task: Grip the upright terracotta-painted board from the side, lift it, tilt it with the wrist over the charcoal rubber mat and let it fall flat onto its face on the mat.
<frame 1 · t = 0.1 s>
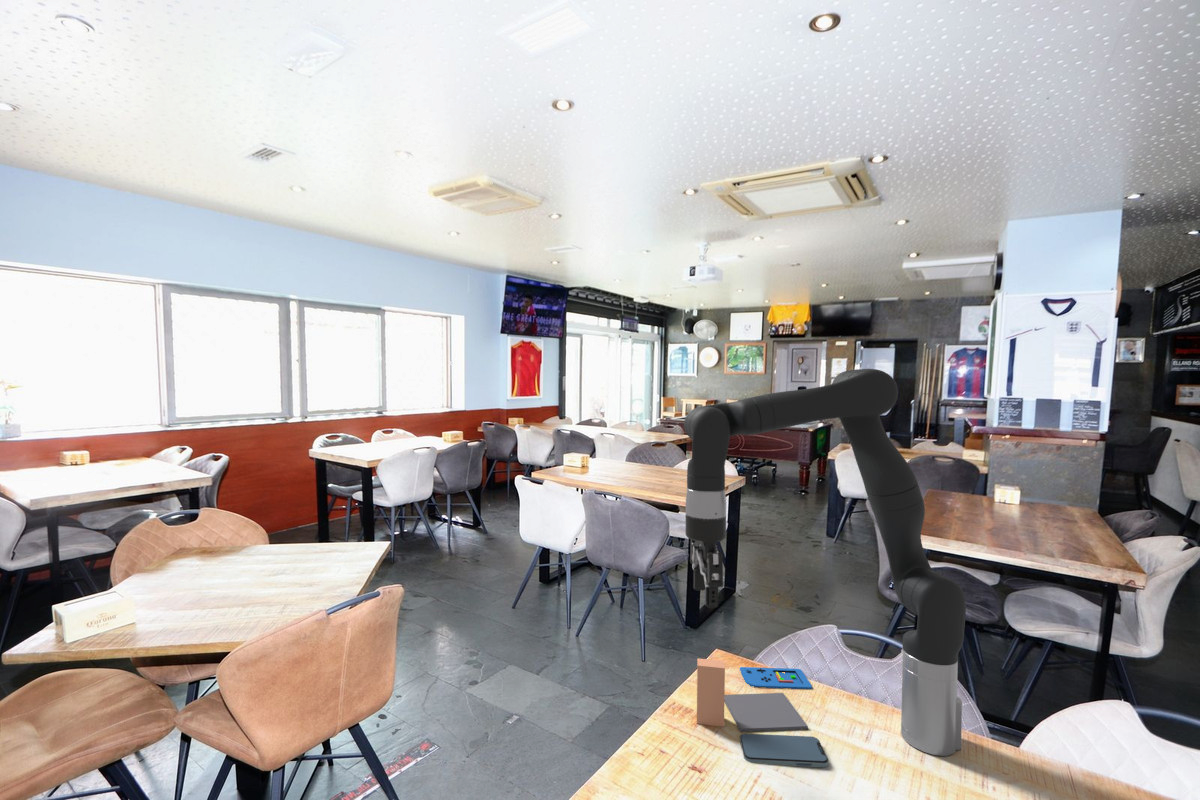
hand: (705, 598, 101), 29 cm above the table, tool pointing down, fingers open, 8 cm apart
rubber mat: (762, 712, 113), on the table
handheld gaming device: (774, 681, 127), on the table
painted board: (710, 720, 111), on the table
smartphone: (782, 755, 101), on the table
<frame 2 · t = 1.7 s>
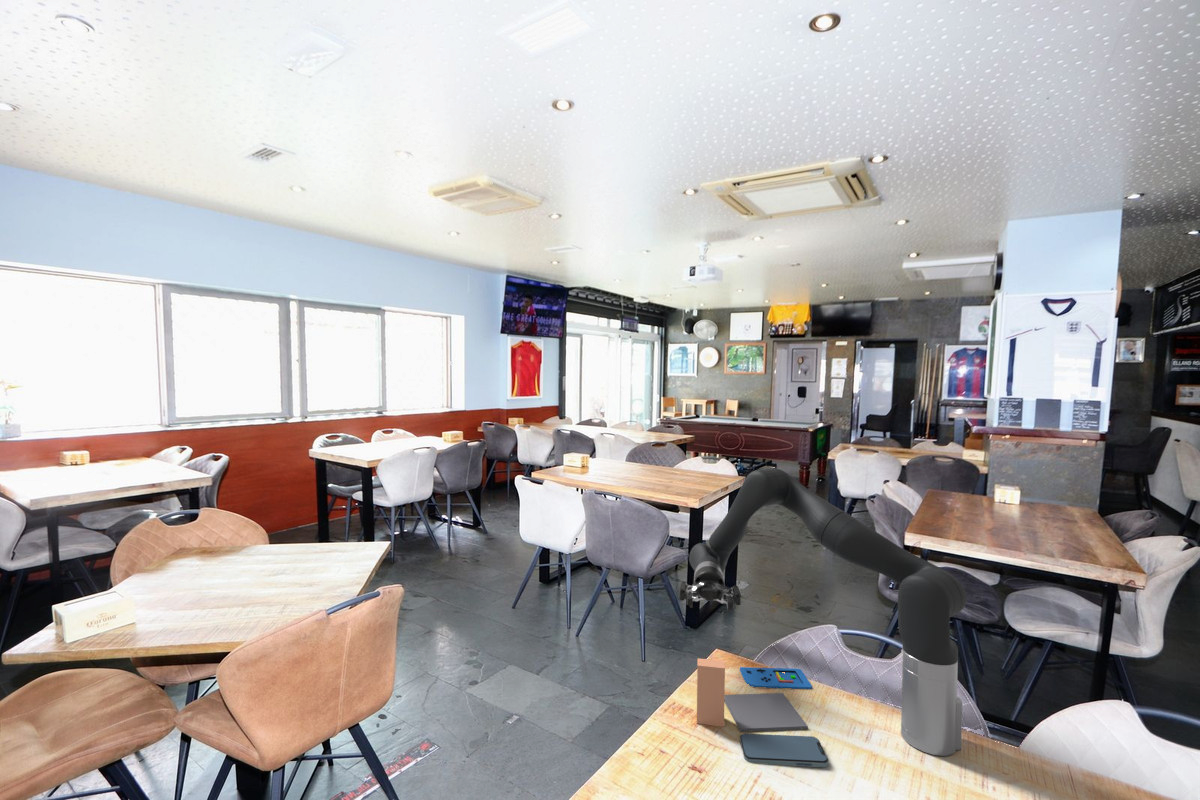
hand: (710, 605, 121), 20 cm above the table, tool horizontal, fingers open, 8 cm apart
nothing on the table moved.
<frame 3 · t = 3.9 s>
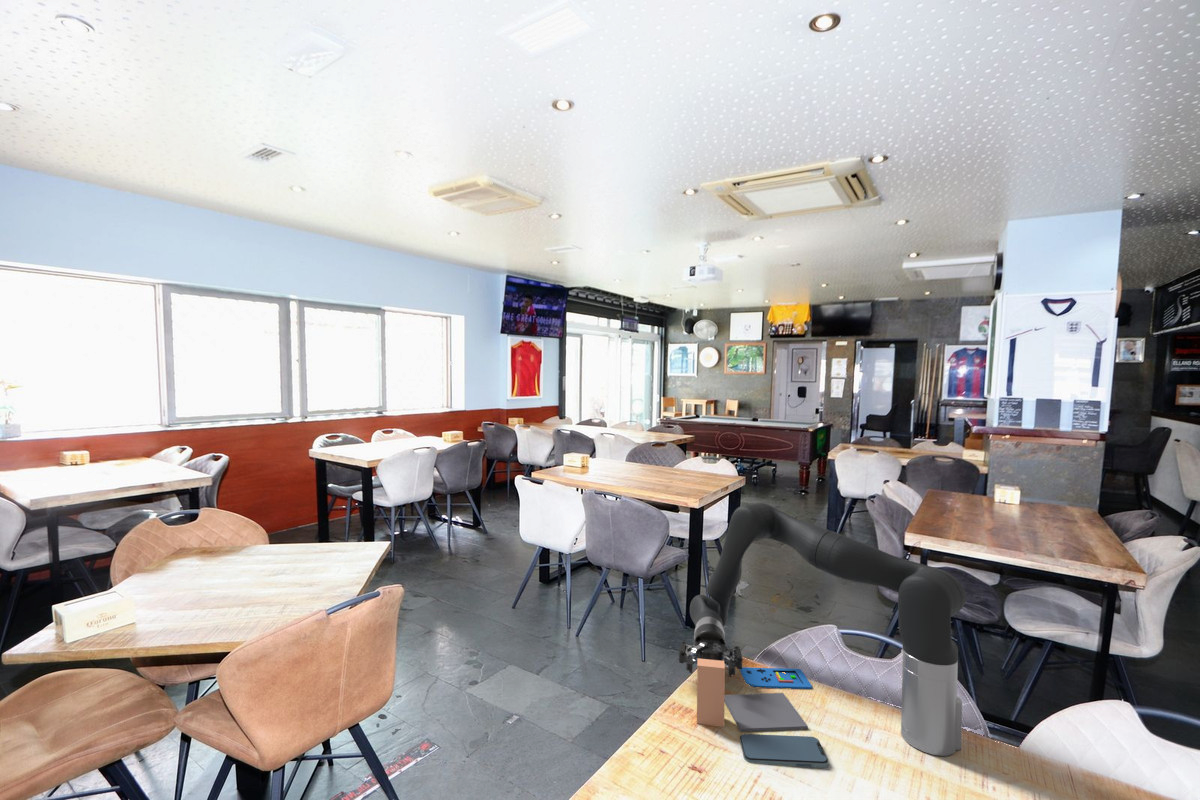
hand: (710, 670, 117), 7 cm above the table, tool horizontal, fingers open, 8 cm apart
nothing on the table moved.
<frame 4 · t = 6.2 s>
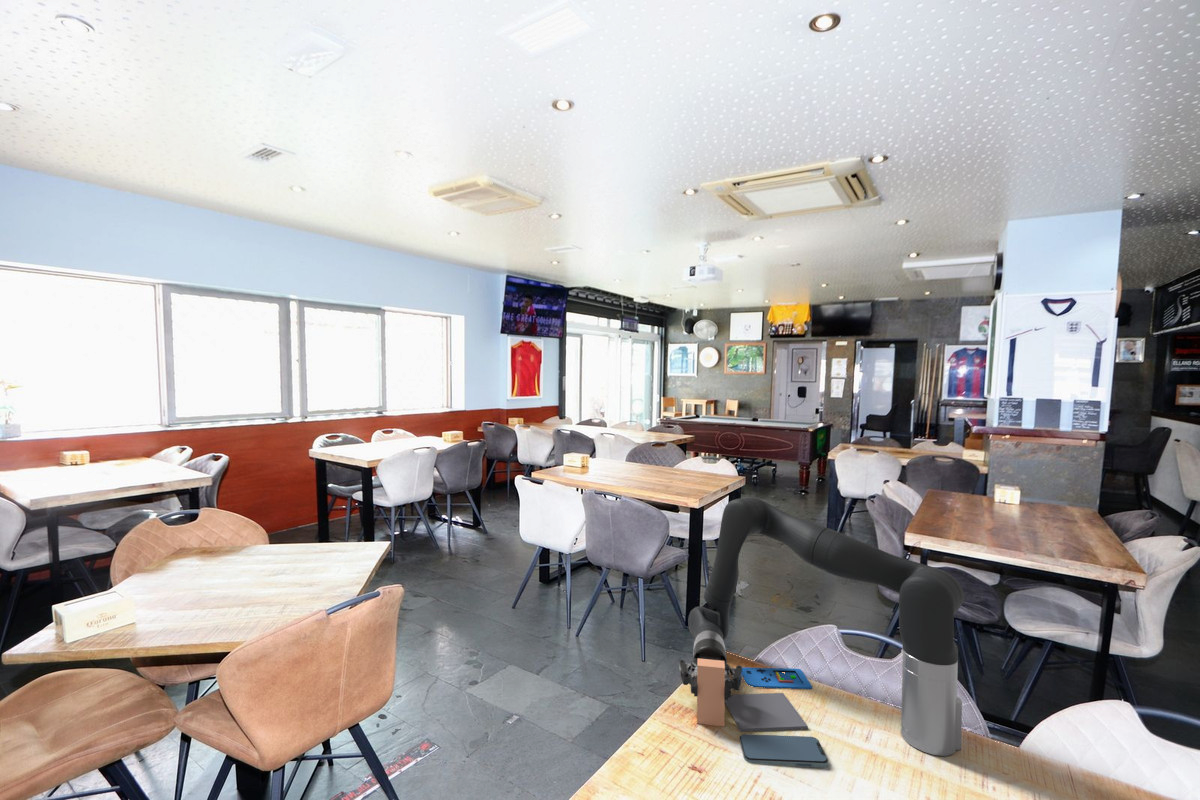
hand: (711, 693, 108), 7 cm above the table, tool horizontal, fingers closed on painted board, 5 cm apart
painted board: (710, 720, 111), on the table, touching gripper
everything else where it was.
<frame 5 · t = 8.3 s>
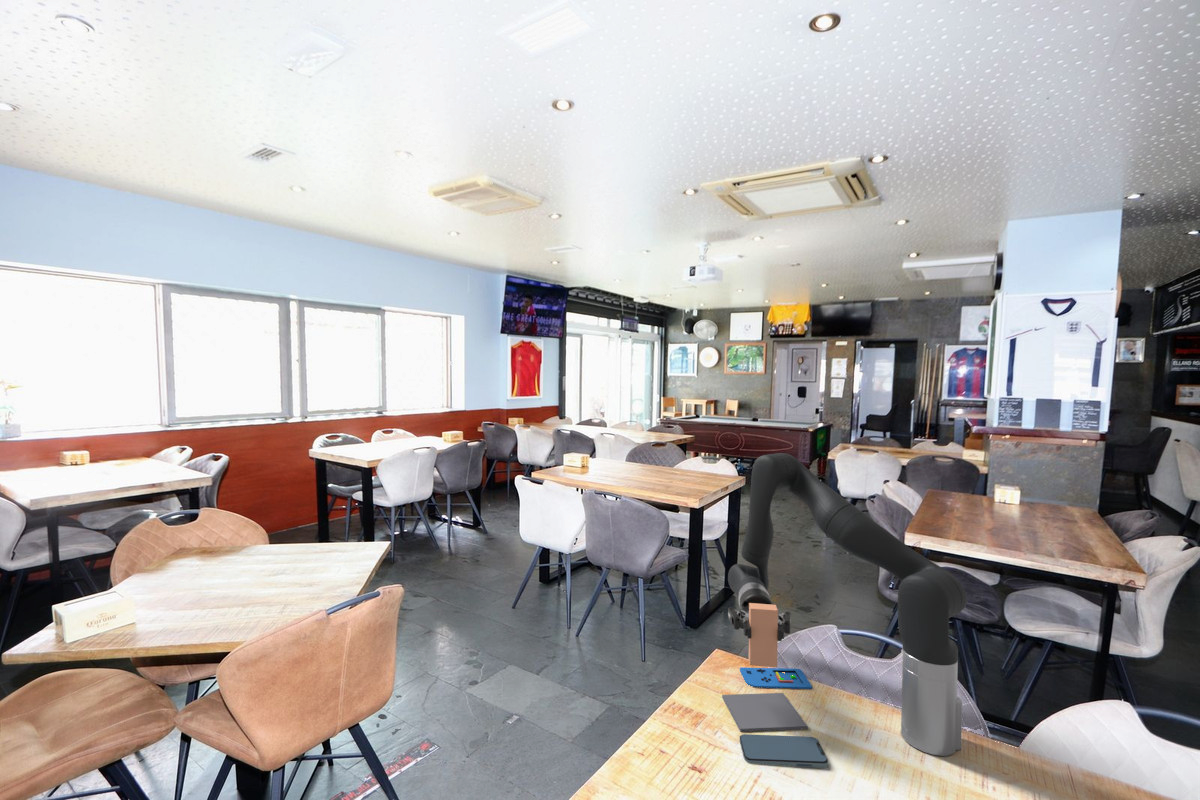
hand: (764, 635, 111), 18 cm above the table, tool horizontal, fingers closed on painted board, 5 cm apart
painted board: (762, 662, 113), point 11 cm above the table, touching gripper
everything else where it was.
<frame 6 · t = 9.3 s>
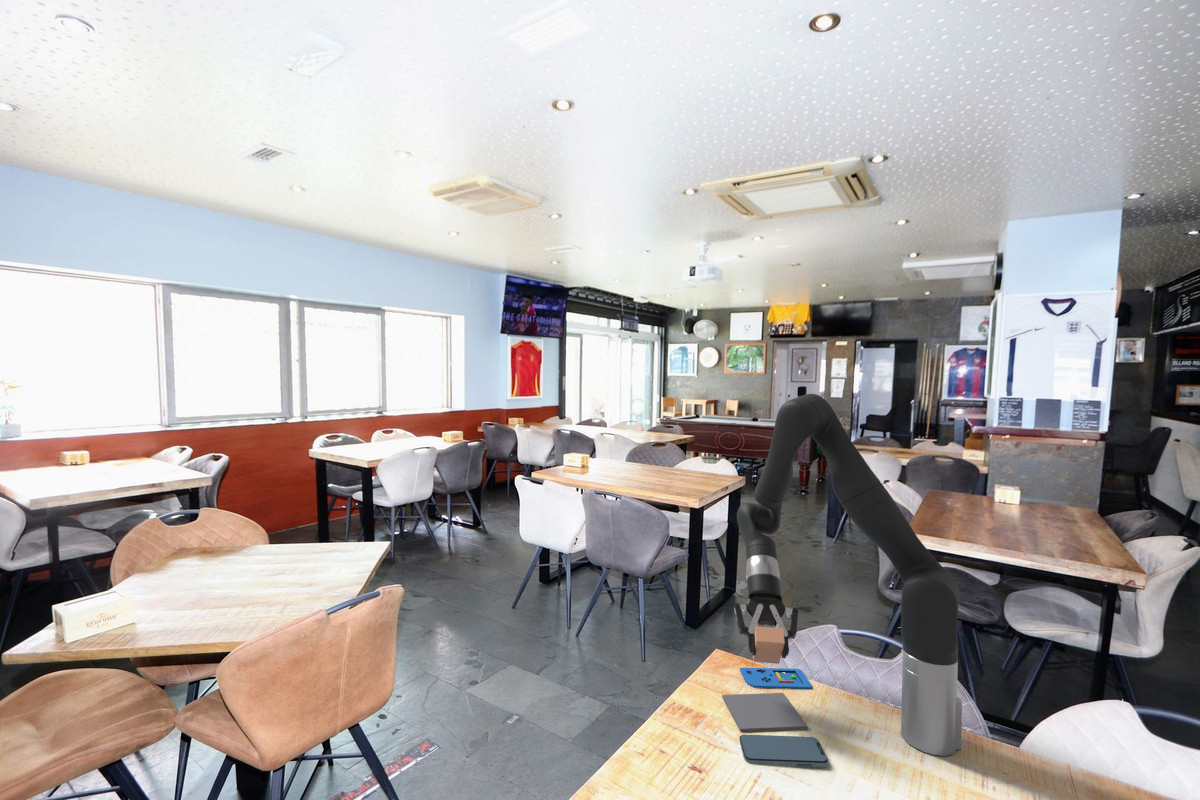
hand: (769, 655, 112), 13 cm above the table, tool tilted 45°, fingers closed on painted board, 5 cm apart
painted board: (765, 655, 119), point 9 cm above the table, tilted 45°, touching gripper
everything else where it was.
when the fingers open (7 cm above the table, at t = 10.8 s): painted board drops 2 cm and tips over, resting on rubber mat.
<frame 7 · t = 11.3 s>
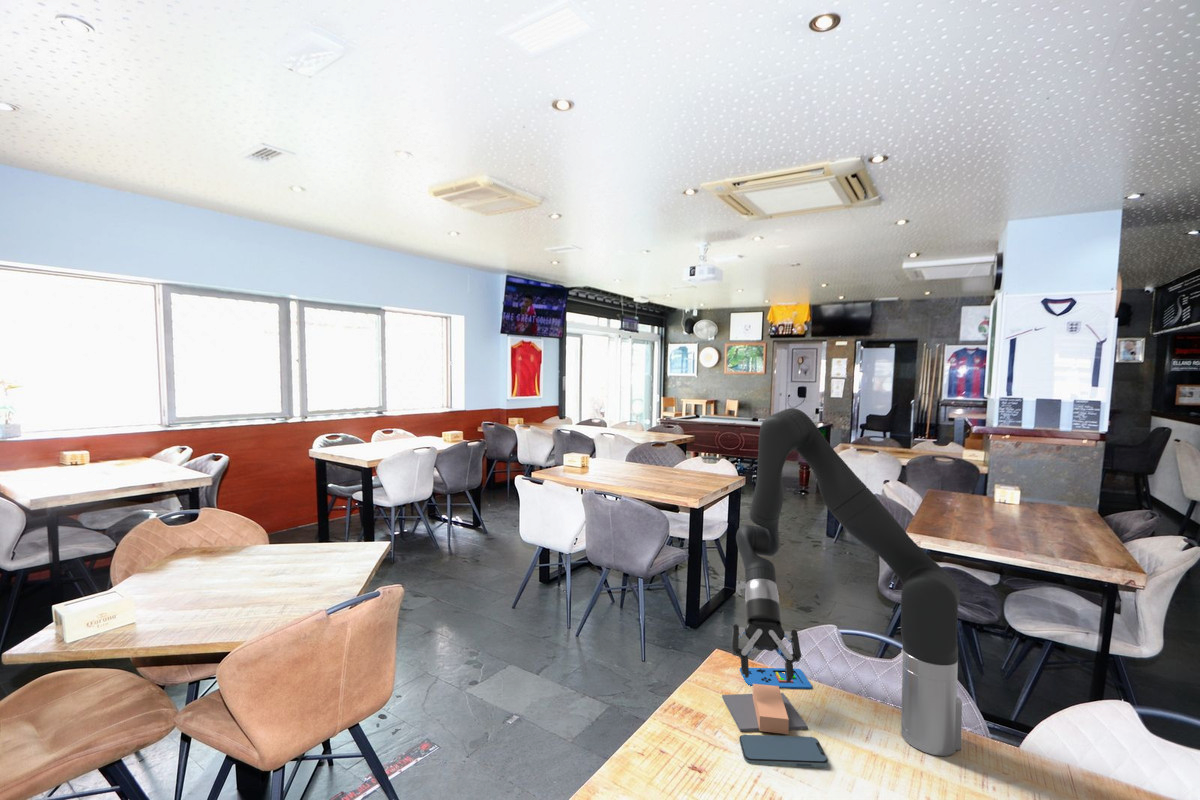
hand: (767, 678, 113), 8 cm above the table, tool tilted 45°, fingers open, 8 cm apart
painted board: (765, 691, 118), point 2 cm above the table, tilted 90°, touching rubber mat
everything else where it was.
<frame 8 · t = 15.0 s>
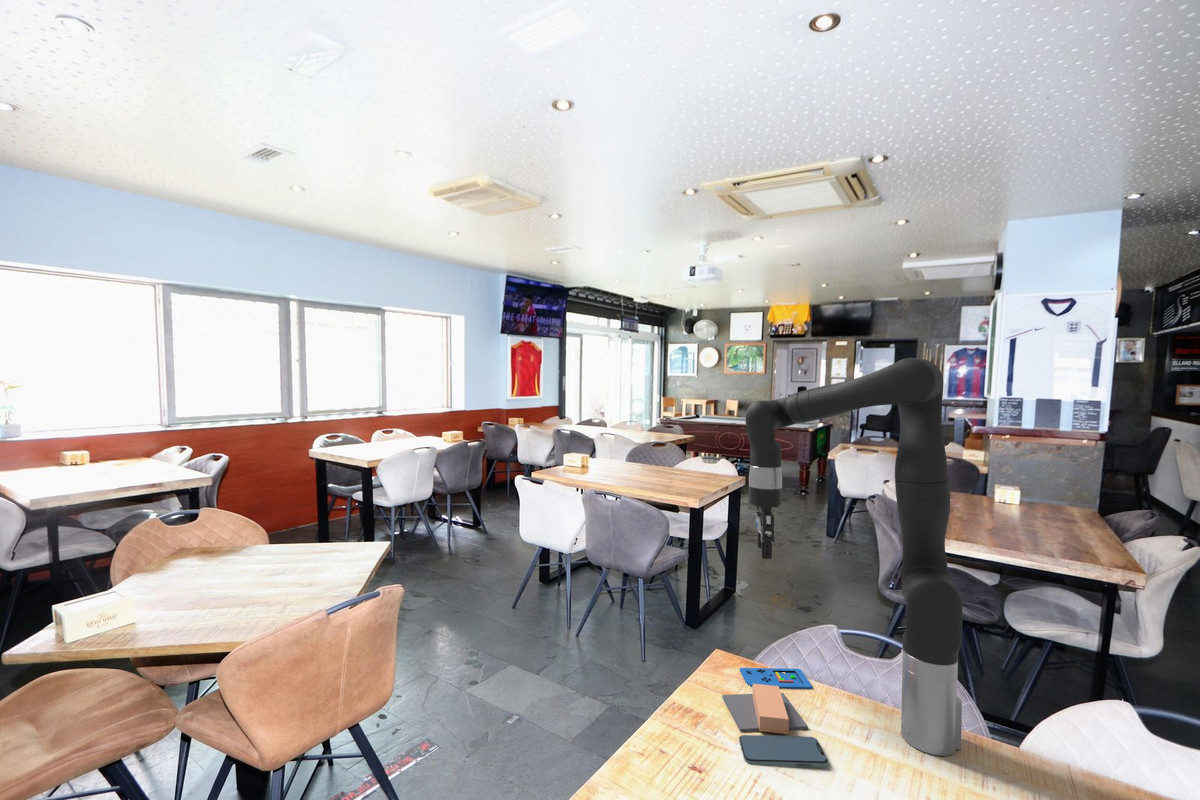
hand: (764, 553, 126), 30 cm above the table, tool pointing down, fingers open, 8 cm apart
nothing on the table moved.
at the end: painted board tilted 90°; painted board inside the target area (4.2 cm from its centre), point 2.1 cm above the table; the gripper is holding nothing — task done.
